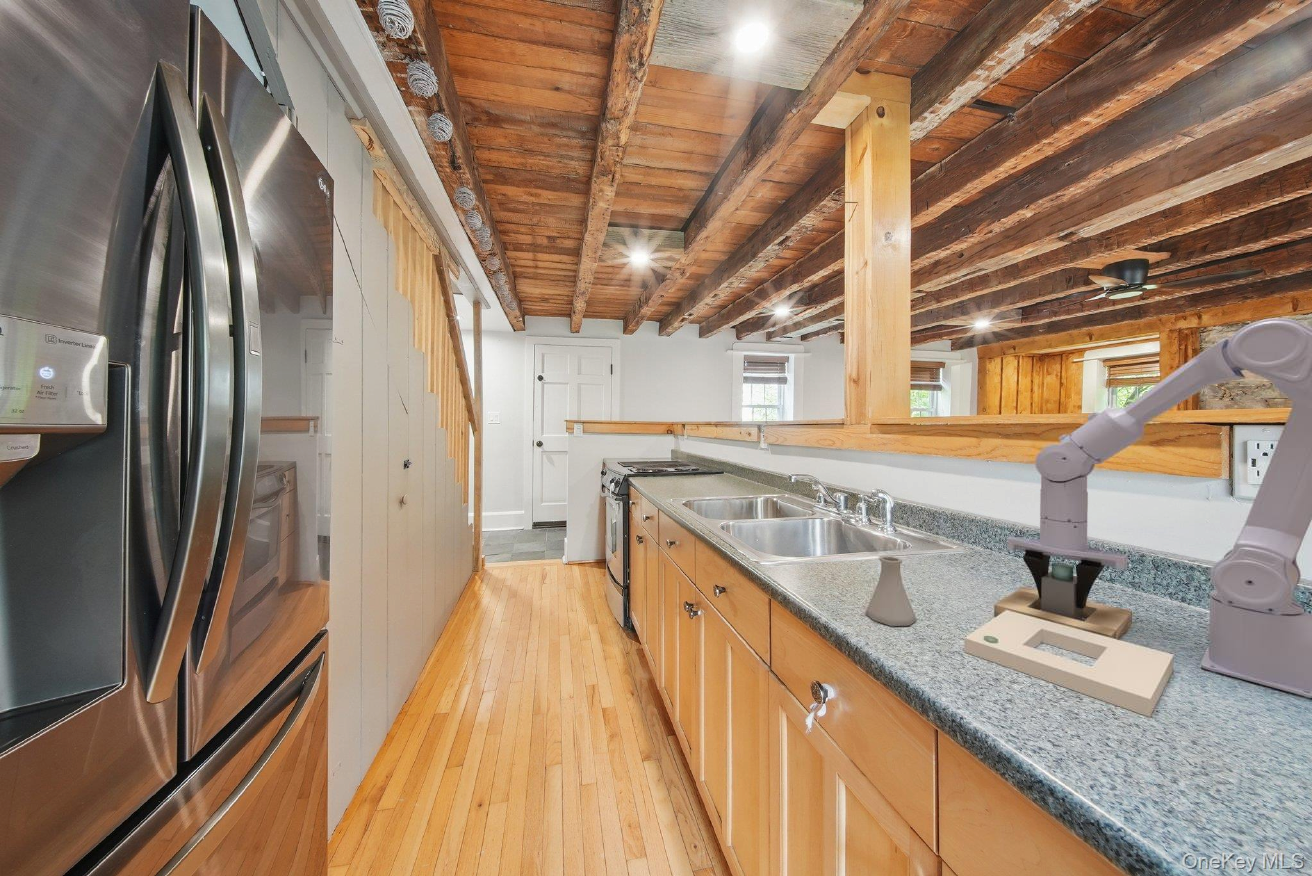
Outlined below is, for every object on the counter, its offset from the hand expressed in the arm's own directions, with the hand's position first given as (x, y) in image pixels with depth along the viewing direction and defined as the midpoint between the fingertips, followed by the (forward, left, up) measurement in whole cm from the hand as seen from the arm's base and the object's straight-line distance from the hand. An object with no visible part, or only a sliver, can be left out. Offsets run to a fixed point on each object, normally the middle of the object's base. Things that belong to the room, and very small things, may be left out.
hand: (1061, 602), depth 75 cm
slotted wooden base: (0, 0, -3) cm, 3 cm away
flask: (+17, +21, -3) cm, 27 cm away
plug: (0, 0, -3) cm, 3 cm away
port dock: (-4, +16, -3) cm, 17 cm away
